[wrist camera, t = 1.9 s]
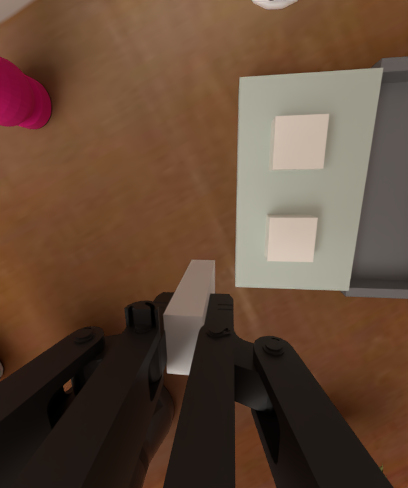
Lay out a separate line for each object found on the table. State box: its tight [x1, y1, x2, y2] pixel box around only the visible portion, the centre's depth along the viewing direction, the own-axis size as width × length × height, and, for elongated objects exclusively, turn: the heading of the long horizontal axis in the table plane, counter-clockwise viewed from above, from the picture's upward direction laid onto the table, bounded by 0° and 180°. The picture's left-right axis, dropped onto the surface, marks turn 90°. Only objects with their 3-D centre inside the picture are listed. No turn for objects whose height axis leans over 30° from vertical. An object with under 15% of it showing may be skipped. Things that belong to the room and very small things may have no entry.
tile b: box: [269, 114, 329, 171], centre depth 24 cm, size 5×5×2 cm
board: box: [235, 68, 383, 291], centre depth 28 cm, size 24×14×4 cm, turn 1°
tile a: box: [264, 215, 318, 262], centre depth 27 cm, size 5×5×2 cm
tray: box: [341, 57, 408, 299], centre depth 27 cm, size 26×12×4 cm, turn 1°
